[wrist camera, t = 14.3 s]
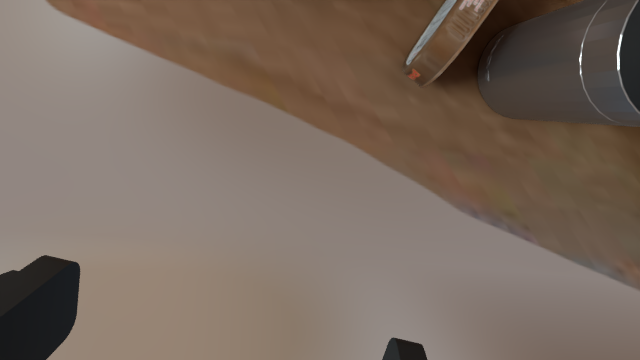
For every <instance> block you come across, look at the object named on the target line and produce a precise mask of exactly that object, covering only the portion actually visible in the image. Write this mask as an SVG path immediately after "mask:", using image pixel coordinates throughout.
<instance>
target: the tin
mask: <svg viewBox="0 0 640 360" xmlns="http://www.w3.org/2000/svg"><path fill="white" fill-rule="evenodd" d="M498 1H499V0H445V2H444V3H443V4H442V6H441V7H440V8H439V10H438V11H437V13H436V14H435V16H434V17H433V18H432V20H431V21H430V23H429V24H428V26H427V27H426V28H425V30H424V31H423V33H422V34H421V36H420V37H419V39H418V40H417V41H416V43H415V44H414V46H413V48H412V49H411V51H410V52H409V54H408V55H407V57H406V59H405V61H404V63H403V66H402V71H403V72H404V73H405V74H406V75H407V76H408V77H409V78H411V79H412V80H414V81H415V82H416V83H417V84H419V86H420V87H421V88H424V87H426V86H428V85H429V84H431V83H432V82H433V81H434V80H435V79H437V78H438V77H439V76H440V75H441V74H442V73H443V72H444V71H445V70H446V68H447V67H448V66H449V65H450V64H451V63H452V62H453V61H454V59H455V58H456V57H457V56H458V55H459V53H460V52H461V51H462V50H463V48H464V47H465V46H466V44H467V43H468V42H469V41H470V39H471V38H472V36H473V35H474V34H475V32H476V31H477V30H478V28H479V27H480V25H481V24H482V23H483V21H484V20H485V19H486V17H487V16H488V15H489V13H490V12H491V10H492V9H493V8H494V6H495V5H496V3H497V2H498Z"/></svg>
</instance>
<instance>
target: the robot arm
mask: <svg viewBox="0 0 640 360" xmlns="http://www.w3.org/2000/svg"><path fill="white" fill-rule="evenodd" d="M478 84H479V89H480V92H481V94H482V96H483V99H484V100H485V101H486V103H487V104H488V106H489V107H491V108H492V109H493V110H494V111H495V112H497V113H499V114H500V115H502V116H505V117H509V118H513V119H528V120H540V121H556V122H571V123H587V124H603V125H618V126H638V127H640V0H584V1H581V2H578V3H575V4H572V5H570V6H567V7H564V8H561V9H558V10H555V11H553V12H550V13H547V14H544V15H541V16H538V17H535V18H532V19H530V20H527V21H524V22H521V23H519V24H516V25H513V26H511V27H508V28H506V29H504V30H503V31H501V32H500V33H498V34H497V35H496V36H495V37H494V38H493V39H492V40H491V41H490V42H489V43H488V45H487V46H486V48H485V49H484V51H483V54H482V56H481V59H480V62H479V67H478ZM79 279H80V266H79V264H78V263H77V262H73V261H68V260H64V259H60V258H56V257H51V256H47V255H44V256H41V257H39V258H38V259H36V260H35V261H33V262H32V263H30V264H29V265H27V266H26V267H24V268H23V269H21V270H20V271H15V270H12V271H9V272H6V273H3V274H1V275H0V360H46V359H47V358H48V357H49V356H50V355H51V354H52V353H53V352H54V351H55V350H56V349H57V348H58V347H59V346H60V345H61V343H62V342H63V341H64V340H65V339H66V338H67V336H68V335H69V333H70V331H71V330H72V327H73V325H74V323H75V319H76V315H77V303H78V292H79ZM382 360H427V357H426V354H425V351H424V348H423V346H422V345H421V344H419V343H414V342H410V341H406V340H402V339H397V338H391V340H390V341H389V343H388V345H387V348H386V351H385V354H384V356H383V359H382Z"/></svg>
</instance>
